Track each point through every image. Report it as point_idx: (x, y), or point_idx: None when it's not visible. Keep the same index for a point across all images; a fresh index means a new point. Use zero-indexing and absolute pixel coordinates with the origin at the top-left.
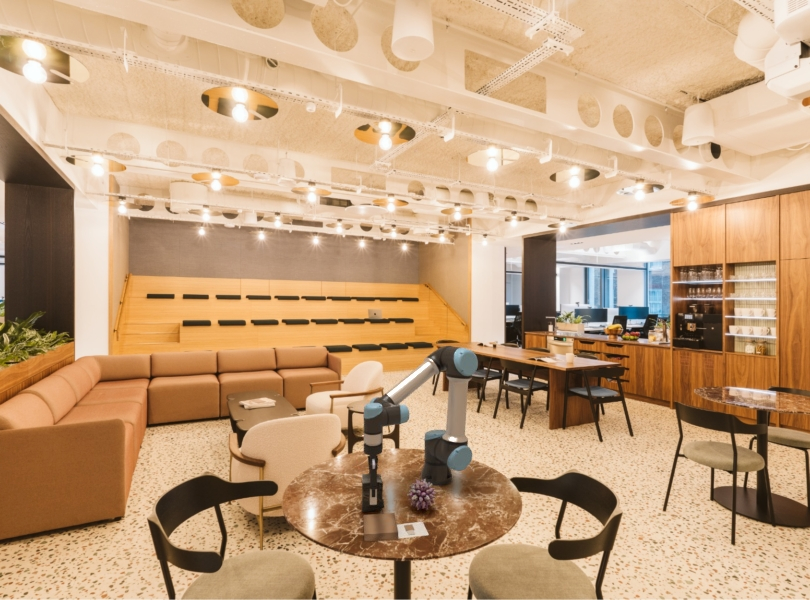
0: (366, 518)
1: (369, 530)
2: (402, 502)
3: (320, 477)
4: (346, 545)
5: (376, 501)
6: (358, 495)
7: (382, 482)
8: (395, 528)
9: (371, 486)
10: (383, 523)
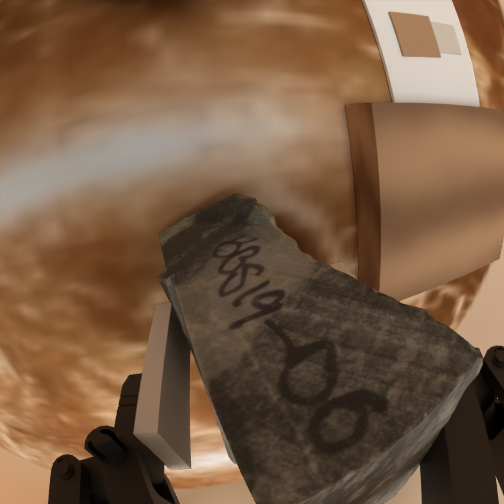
0: (413, 282)
1: (488, 244)
2: (87, 77)
3: (44, 452)
4: (469, 298)
5: (353, 276)
6: (79, 360)
7: (475, 351)
8: (493, 119)
9: (498, 405)
10: (464, 181)
